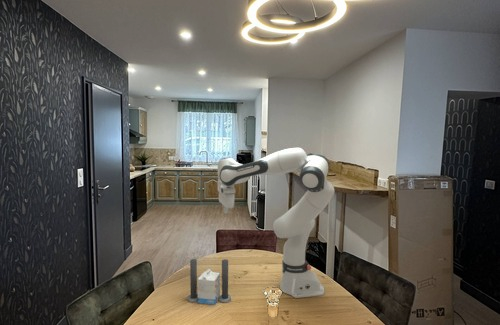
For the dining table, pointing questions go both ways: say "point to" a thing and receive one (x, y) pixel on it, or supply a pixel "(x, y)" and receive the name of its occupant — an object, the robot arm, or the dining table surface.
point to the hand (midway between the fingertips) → (225, 213)
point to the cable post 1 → (193, 282)
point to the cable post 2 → (225, 283)
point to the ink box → (209, 287)
